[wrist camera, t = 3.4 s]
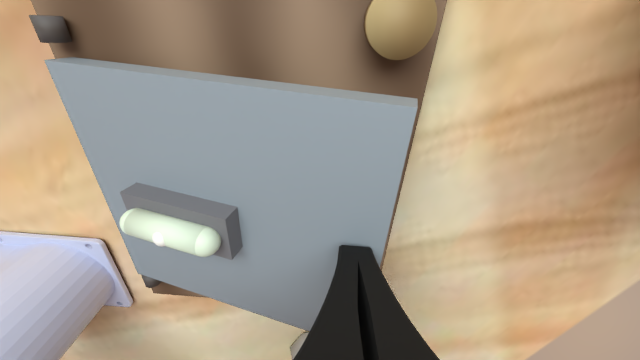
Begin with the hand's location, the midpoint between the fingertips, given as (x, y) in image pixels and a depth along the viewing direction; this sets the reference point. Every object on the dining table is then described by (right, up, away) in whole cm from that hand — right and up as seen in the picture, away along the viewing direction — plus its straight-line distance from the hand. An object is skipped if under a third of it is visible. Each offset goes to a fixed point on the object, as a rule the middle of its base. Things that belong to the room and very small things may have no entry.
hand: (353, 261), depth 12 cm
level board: (-6, +2, +3) cm, 7 cm away
